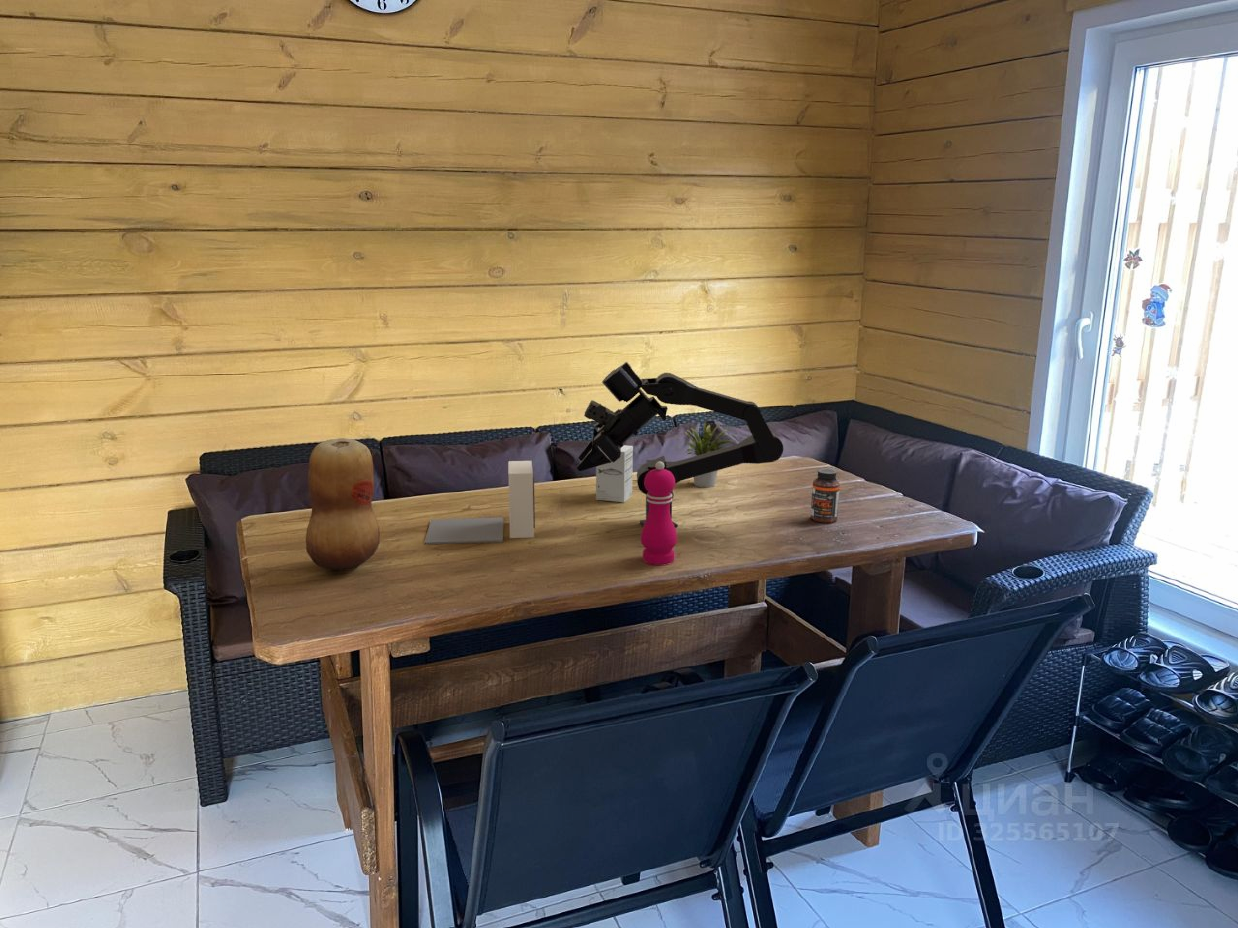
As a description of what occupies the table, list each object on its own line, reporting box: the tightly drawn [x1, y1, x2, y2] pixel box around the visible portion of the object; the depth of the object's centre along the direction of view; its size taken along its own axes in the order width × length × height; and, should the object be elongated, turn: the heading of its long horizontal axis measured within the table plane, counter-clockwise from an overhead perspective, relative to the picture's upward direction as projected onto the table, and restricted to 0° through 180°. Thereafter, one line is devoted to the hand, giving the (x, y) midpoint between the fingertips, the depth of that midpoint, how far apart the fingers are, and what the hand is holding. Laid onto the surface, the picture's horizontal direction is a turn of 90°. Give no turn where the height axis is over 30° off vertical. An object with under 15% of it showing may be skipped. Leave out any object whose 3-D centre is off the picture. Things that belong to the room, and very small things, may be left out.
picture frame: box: [507, 460, 536, 539], centre depth 206 cm, size 5×11×14 cm, turn 6°
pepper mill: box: [640, 461, 678, 566], centre depth 186 cm, size 7×7×20 cm
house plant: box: [685, 421, 734, 488], centre depth 241 cm, size 14×14×16 cm
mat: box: [424, 517, 504, 545], centre depth 206 cm, size 16×16×1 cm
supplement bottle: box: [810, 468, 840, 524], centre depth 214 cm, size 6×6×11 cm
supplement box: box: [595, 444, 634, 503], centre depth 230 cm, size 7×7×13 cm
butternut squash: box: [305, 437, 381, 571], centre depth 181 cm, size 14×13×25 cm
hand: (578, 464), depth 207 cm, fingers open, 9 cm apart
